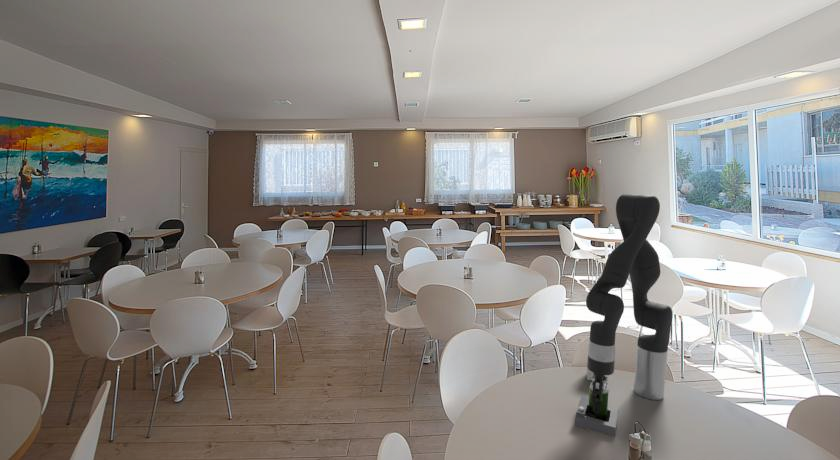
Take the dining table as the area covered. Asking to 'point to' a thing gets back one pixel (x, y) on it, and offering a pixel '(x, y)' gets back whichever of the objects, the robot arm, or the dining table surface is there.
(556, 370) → the dining table surface
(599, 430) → the grey square frame
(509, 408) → the dining table surface
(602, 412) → the beer can
